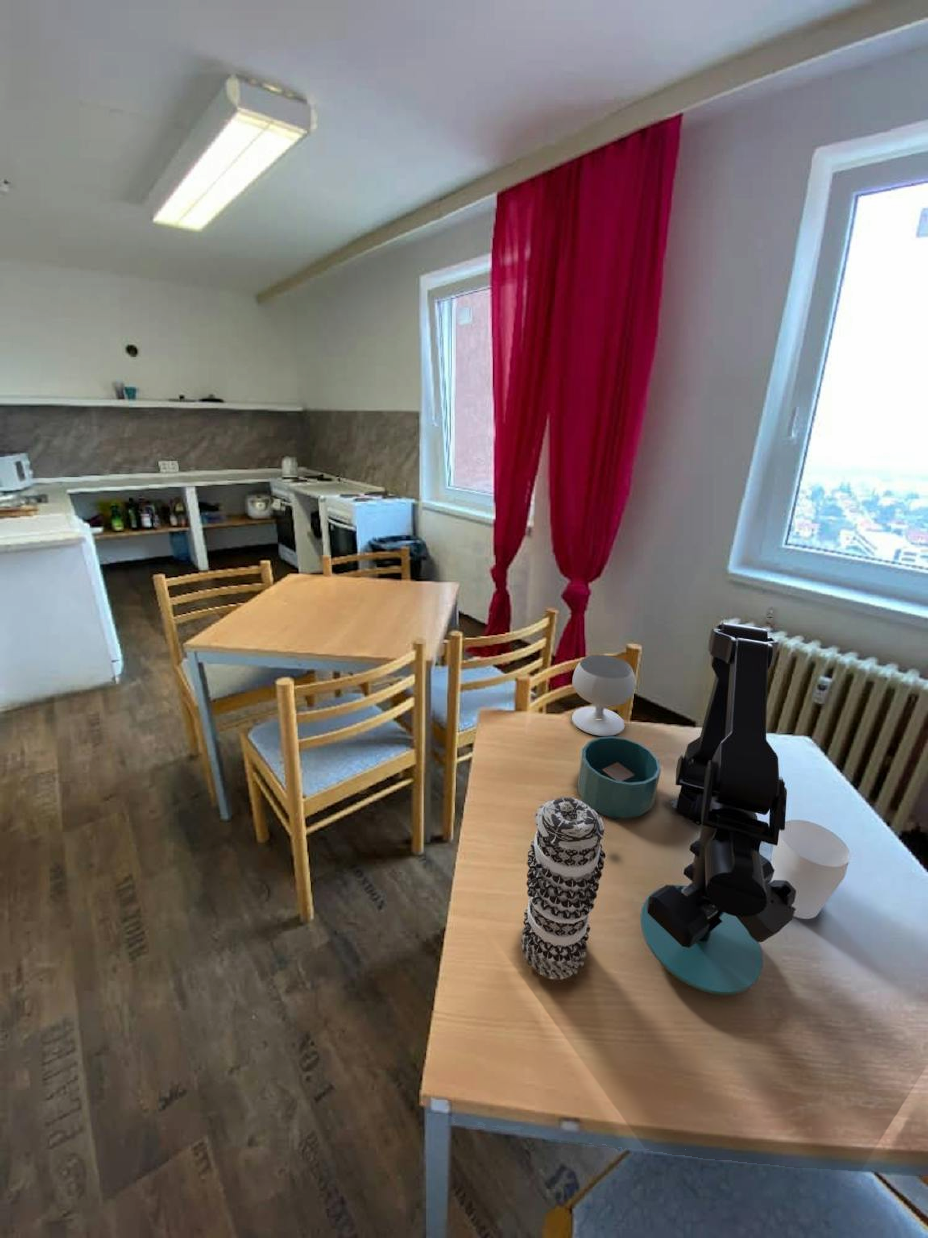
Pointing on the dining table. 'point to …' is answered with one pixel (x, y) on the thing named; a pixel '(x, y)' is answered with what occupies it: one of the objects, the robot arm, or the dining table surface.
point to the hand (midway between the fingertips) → (699, 932)
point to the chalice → (602, 693)
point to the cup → (809, 864)
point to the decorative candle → (562, 886)
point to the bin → (617, 794)
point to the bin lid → (708, 955)
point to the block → (618, 773)
